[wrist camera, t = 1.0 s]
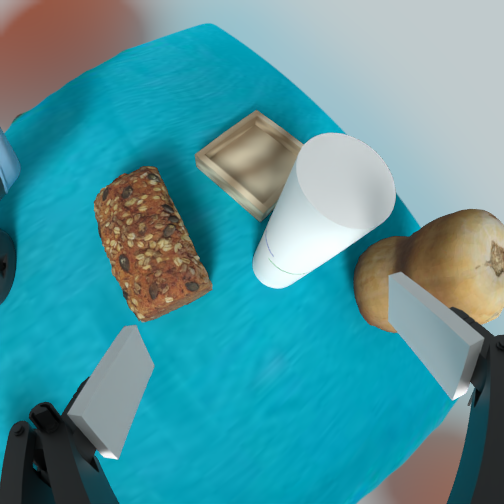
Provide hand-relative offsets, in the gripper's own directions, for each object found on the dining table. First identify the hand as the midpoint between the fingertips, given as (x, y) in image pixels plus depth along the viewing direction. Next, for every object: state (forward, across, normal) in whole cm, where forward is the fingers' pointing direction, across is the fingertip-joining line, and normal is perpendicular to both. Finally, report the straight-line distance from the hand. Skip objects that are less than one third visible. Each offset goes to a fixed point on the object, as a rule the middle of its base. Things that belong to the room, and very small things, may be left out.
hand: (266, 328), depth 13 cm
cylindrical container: (+27, +2, -6) cm, 28 cm away
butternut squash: (+26, +17, -14) cm, 34 cm away
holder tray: (+35, +3, +8) cm, 36 cm away
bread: (+27, -15, -1) cm, 30 cm away
